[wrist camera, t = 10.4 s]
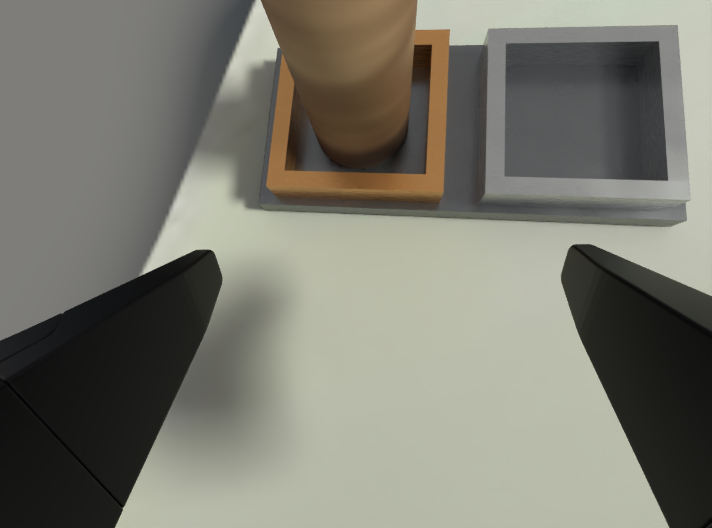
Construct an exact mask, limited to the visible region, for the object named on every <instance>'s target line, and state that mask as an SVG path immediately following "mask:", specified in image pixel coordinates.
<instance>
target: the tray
mask: <svg viewBox="0 0 712 528" xmlns="http://www.w3.org/2000/svg"><path fill="white" fill-rule="evenodd" d="M449 35H450V30H415V40H414V54H413V68H412V82H411V96H410V110H409V124H408V132H407V135H406V138H405V141H404V143H403V145H402V146H401V148H400V149H399V150H398V151H397V152H396V154H395V155H393V156H392V157H391V158H390V159H388V160H387V161H385V162H383V163H381V164H379V165H377V166H374V167H369V168H362V169H361V168H349V167H346V166H343V165H340V164H338V163H336V162H334V161H333V160H332V159H330V158H329V157H328V156H327V155H326V154H325V153H324V151H323V150H322V149H321V147H320V145H319V143H318V140H317V138H316V135H315V133H314V130H313V128H312V125H311V123H310V120H309V118H308V115H307V113H306V110H305V108H304V105H303V103H302V101H301V98H300V96H299V93H298V91H297V88H296V86H295V83H294V81H293V78H292V76H291V73H290V71H289V68H288V66H287V64H286V61H285V59H284V56H283V54H282V51H281V49H280V48H278V51H277V59H276V67H275V75H274V83H273V91H272V99H271V107H270V115H269V124H268V132H267V140H266V148H265V156H264V164H263V172H262V180H261V188H260V197H259V205H260V206H261V207H263V208H264V209H265V210H276V211H300V212H325V213H350V214H374V215H399V216H424V217H448V218H473V219H497V220H522V221H547V222H571V223H596V224H621V225H645V226H673V225H676V224H679V223H681V222H684V221H687V217H686V203H685V202H687V201H689V200H691V197H690V184H689V171H688V158H687V144H686V131H685V118H684V105H683V92H682V78H681V65H680V52H679V39H678V26H677V25H660V26H607V27H555V28H503V29H488V32H487V35H486V38H485V41H484V45H462V46H449Z"/></svg>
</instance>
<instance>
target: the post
mask: <svg viewBox="0 0 712 528" xmlns="http://www.w3.org/2000/svg"><path fill="white" fill-rule="evenodd" d="M261 2H262V4H263V7H264V9H265V12H266V14H267V17H268V19H269V22H270V24H271V26H272V29H273V31H274V34H275V36H276V39H277V41H278V44H279V46H280V49H281V51H282V54H283V56H284V59H285V61H286V64H287V66H288V68H289V71H290V73H291V76H292V78H293V81H294V83H295V86H296V88H297V91H298V93H299V96H300V98H301V101H302V103H303V105H304V108H305V110H306V113H307V115H308V118H309V120H310V123H311V125H312V128H313V130H314V133H315V135H316V138H317V140H318V143H319V145H320V147H321V149H322V150H323V151H324V153H325V154H326V155H327V156H328V157H329V158H330V159H332V160H333V161H334V162H336V163H338V164H340V165H343V166H346V167H349V168H361V169H362V168H369V167H374V166H377V165H379V164H381V163H383V162H385V161H387V160H388V159H390V158H391V157H392V156H393V155H395V154H396V152H397V151H398V150H399V149H400V148H401V146H402V145H403V143H404V141H405V138H406V135H407V132H408V124H409V110H410V96H411V82H412V68H413V54H414V40H415V26H416V12H417V0H261Z"/></svg>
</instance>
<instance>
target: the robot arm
mask: <svg viewBox="0 0 712 528" xmlns="http://www.w3.org/2000/svg"><path fill="white" fill-rule="evenodd" d="M561 282H562V285H563V288H564V291H565V295H566V298H567V301H568V304H569V307H570V310H571V313H572V316H573V319H574V322H575V325H576V328H577V331H578V334H579V336H580V338H581V341H582V343H583V345H584V347H585V349H586V352H587V354H588V356H589V358H590V360H591V362H592V364H593V366H594V369H595V371H596V373H597V375H598V377H599V379H600V381H601V383H602V386H603V388H604V390H605V392H606V394H607V396H608V398H609V400H610V402H611V405H612V407H613V409H614V411H615V413H616V415H617V417H618V419H619V422H620V424H621V426H622V428H623V430H624V432H625V434H626V436H627V439H628V441H629V443H630V445H631V447H632V449H633V451H634V453H635V456H636V458H637V460H638V462H639V464H640V466H641V468H642V470H643V472H644V475H645V477H646V479H647V481H648V483H649V485H650V487H651V489H652V492H653V494H654V496H655V498H656V500H657V502H658V504H659V506H660V509H661V511H662V513H663V515H664V517H665V519H666V521H667V523H668V526H669V528H712V296H710V295H707V294H705V293H703V292H700V291H698V290H696V289H693V288H691V287H689V286H686V285H684V284H682V283H679V282H677V281H675V280H672V279H670V278H668V277H666V276H663V275H661V274H659V273H656V272H654V271H652V270H649V269H647V268H645V267H642V266H640V265H638V264H635V263H633V262H631V261H628V260H626V259H624V258H621V257H619V256H617V255H614V254H612V253H610V252H607V251H605V250H603V249H600V248H598V247H596V246H593V245H590V244H576V245H572V246H571V247H570V248H569V250H568V253H567V256H566V260H565V263H564V266H563V270H562V273H561ZM221 285H222V274H221V271H220V268H219V265H218V262H217V259H216V256H215V254H214V252H213V251H211V250H195V251H193V252H191V253H189V254H186V255H184V256H182V257H180V258H178V259H176V260H174V261H172V262H169V263H167V264H165V265H163V266H161V267H159V268H157V269H154V270H152V271H150V272H148V273H146V274H144V275H142V276H140V277H137V278H135V279H133V280H131V281H129V282H127V283H125V284H122V285H120V286H119V287H116V288H114V289H112V290H110V291H108V292H106V293H103V294H101V295H99V296H97V297H95V298H93V299H91V300H88V301H86V302H84V303H82V304H80V305H78V306H76V307H74V308H71V309H69V310H67V311H65V312H64V313H63V314H59V315H56V316H54V317H52V318H50V319H48V320H46V321H44V322H41V323H39V324H37V325H35V326H32V327H30V328H28V329H27V330H24V331H22V332H20V333H17V334H15V335H13V336H10V337H8V338H6V339H3V340H1V341H0V528H115V526H116V524H117V522H118V520H119V517H120V515H121V513H122V511H123V507H124V506H125V504H126V502H127V500H128V498H129V495H130V493H131V491H132V489H133V487H134V485H135V483H136V480H137V478H138V476H139V474H140V472H141V470H142V467H143V465H144V463H145V461H146V459H147V457H148V455H149V452H150V450H151V448H152V446H153V444H154V442H155V440H156V437H157V435H158V433H159V431H160V429H161V427H162V425H163V422H164V420H165V418H166V416H167V414H168V412H169V409H170V407H171V405H172V403H173V401H174V399H175V397H176V394H177V392H178V390H179V388H180V386H181V384H182V382H183V379H184V377H185V375H186V373H187V371H188V369H189V367H190V364H191V362H192V360H193V358H194V356H195V354H196V351H197V349H198V347H199V345H200V343H201V341H202V339H203V336H204V334H205V332H206V329H207V327H208V324H209V321H210V318H211V315H212V312H213V309H214V306H215V303H216V300H217V297H218V294H219V291H220V288H221Z"/></svg>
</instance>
